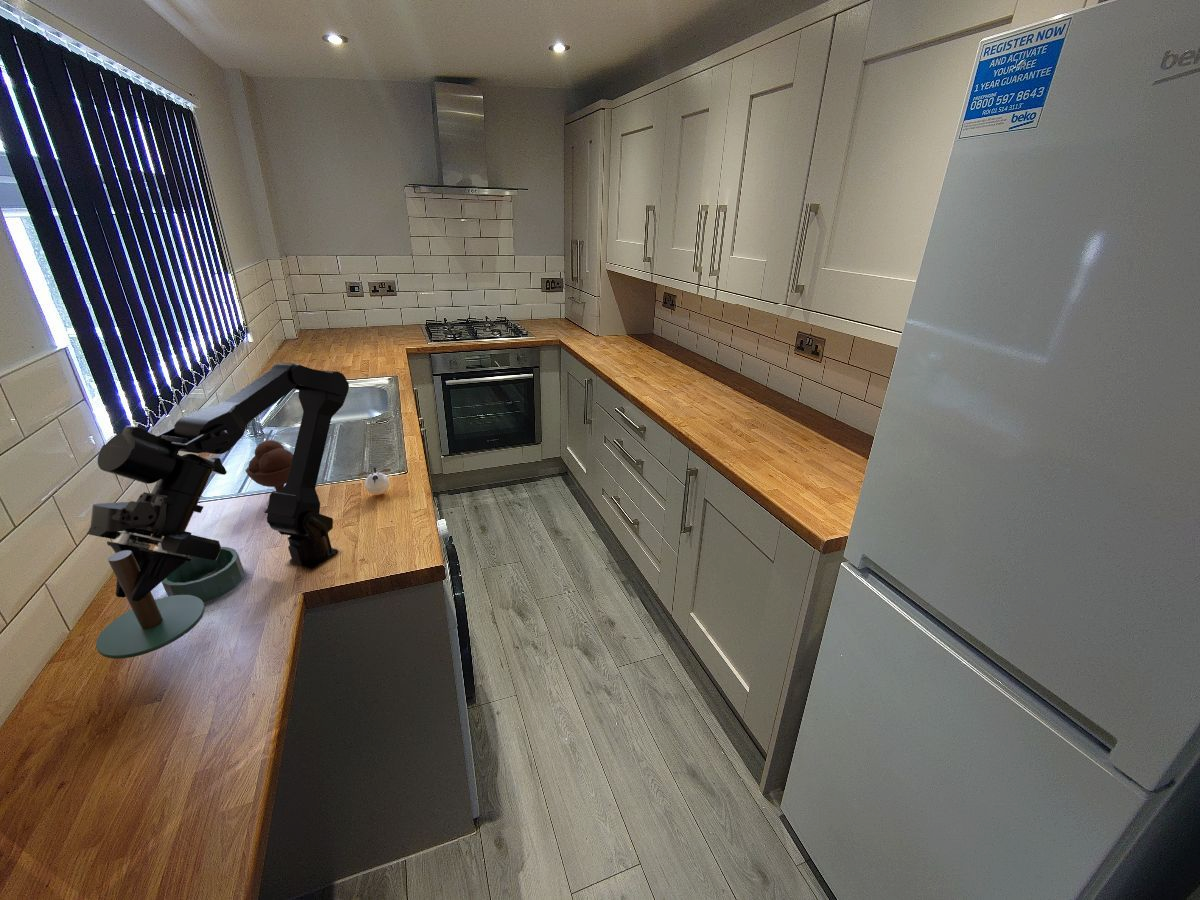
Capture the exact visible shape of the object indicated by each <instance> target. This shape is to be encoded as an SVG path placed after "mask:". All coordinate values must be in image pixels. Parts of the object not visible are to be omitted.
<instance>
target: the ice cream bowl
mask: <svg viewBox="0 0 1200 900" xmlns="http://www.w3.org/2000/svg"><path fill="white" fill-rule="evenodd" d="M293 454H294V453H292V451H290V450H288V449H286V448H285V447H284V446H283V443H281V442H279V441H277V440H273V439H272V440H269V439H268V440H264V441H262V442H260V443H258V445H257V446H256V447H255V450H254V456H253V457H252V458H251V460H249V462H248V466H247V468H246V469H245V473H246V474H247V476H248V477H249V478H250V479H251V480H252V481H253V482H255V483H256V484H258V485H260V486H262V487H268V488H274V489H275V492H279V491H280V490H281V489H282V488H283V487H284V486H285V485H286V483H287V479H288V475H289V470H290V466H291V462H292V458H293Z"/></svg>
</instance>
